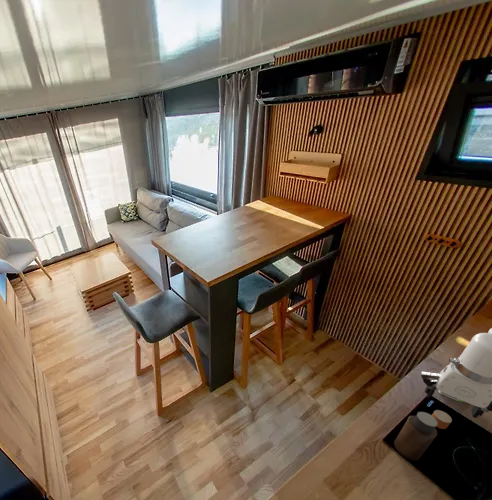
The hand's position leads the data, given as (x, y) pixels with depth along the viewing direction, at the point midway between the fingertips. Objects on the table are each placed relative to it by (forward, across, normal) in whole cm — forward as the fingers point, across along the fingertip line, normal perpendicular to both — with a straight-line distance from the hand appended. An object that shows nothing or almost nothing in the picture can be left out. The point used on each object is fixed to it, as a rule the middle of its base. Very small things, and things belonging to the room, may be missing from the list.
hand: (450, 403), depth 81 cm
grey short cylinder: (-3, -7, -16) cm, 17 cm away
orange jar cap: (+11, 0, 0) cm, 11 cm away
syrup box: (+11, +4, +16) cm, 20 cm away
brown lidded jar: (+11, -6, -16) cm, 20 cm away
